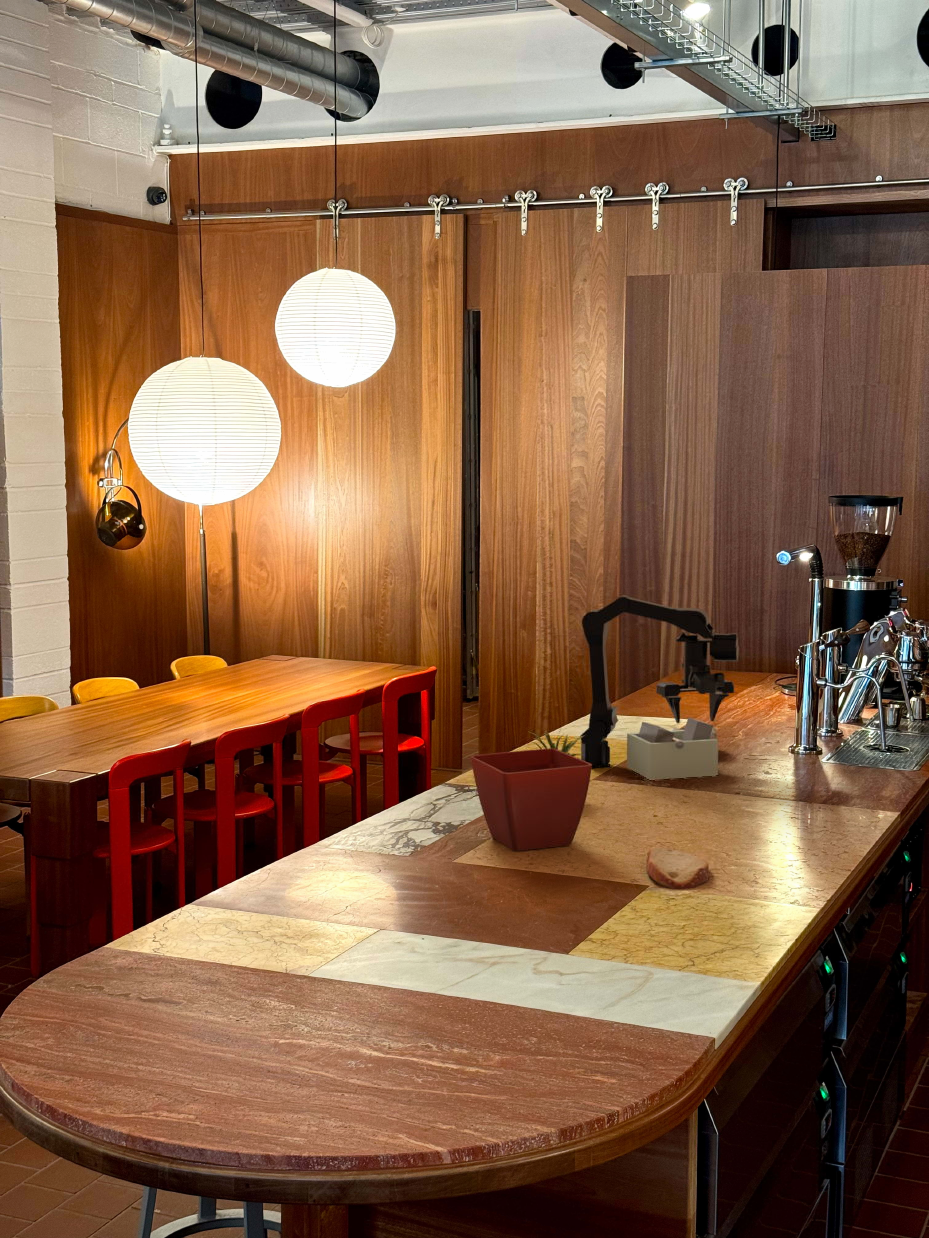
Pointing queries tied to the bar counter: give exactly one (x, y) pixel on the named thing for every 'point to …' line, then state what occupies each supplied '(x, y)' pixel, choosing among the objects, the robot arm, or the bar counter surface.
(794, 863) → the bar counter surface
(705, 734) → the grey block
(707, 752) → the pale green open box
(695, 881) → the bread slice
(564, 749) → the house plant
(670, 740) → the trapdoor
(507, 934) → the bar counter surface
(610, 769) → the bar counter surface
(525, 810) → the plant pot
